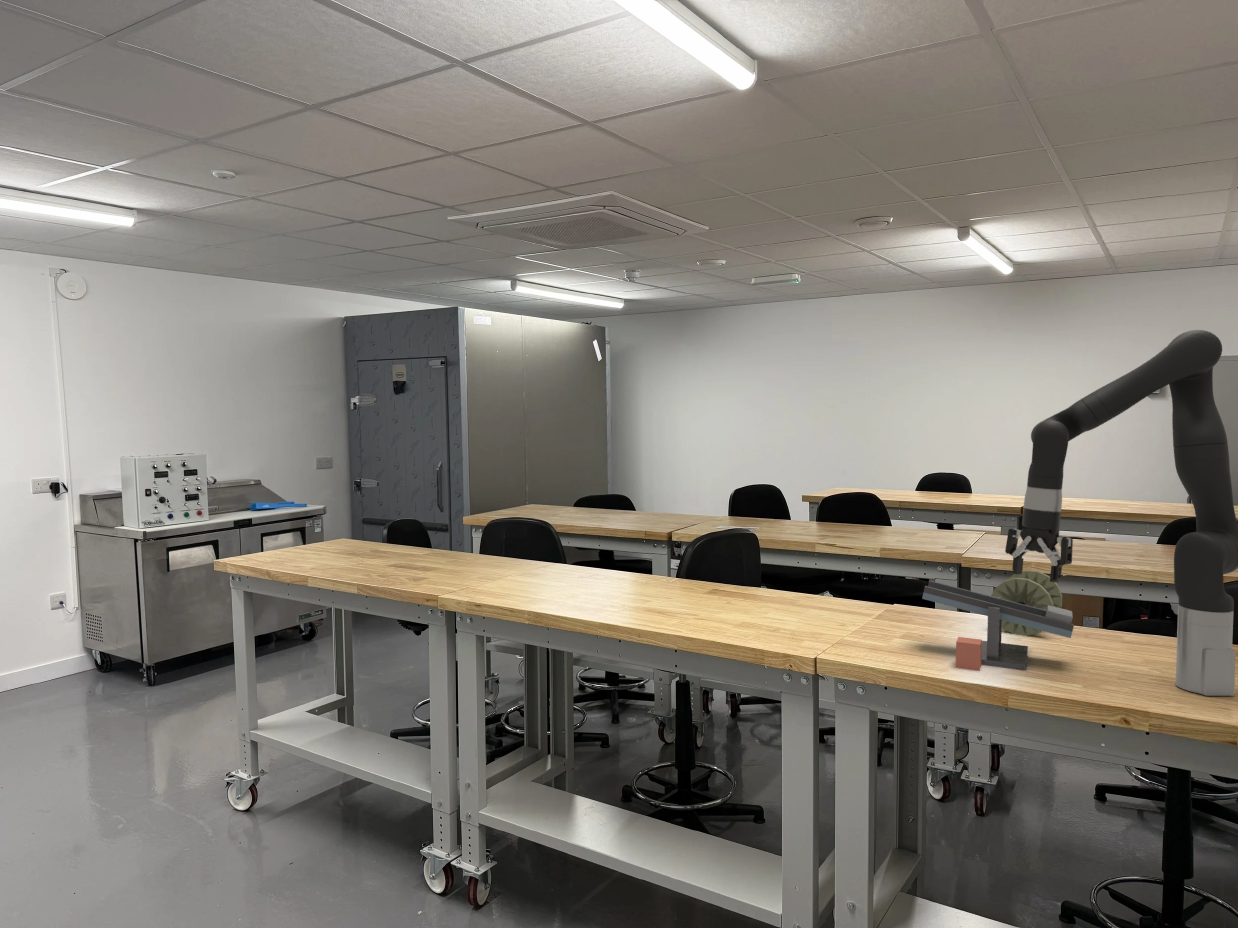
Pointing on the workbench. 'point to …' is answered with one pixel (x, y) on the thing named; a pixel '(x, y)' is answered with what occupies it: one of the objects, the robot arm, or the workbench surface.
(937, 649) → the workbench surface
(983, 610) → the balance beam
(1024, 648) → the pivot stand
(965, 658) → the block
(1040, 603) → the spool
